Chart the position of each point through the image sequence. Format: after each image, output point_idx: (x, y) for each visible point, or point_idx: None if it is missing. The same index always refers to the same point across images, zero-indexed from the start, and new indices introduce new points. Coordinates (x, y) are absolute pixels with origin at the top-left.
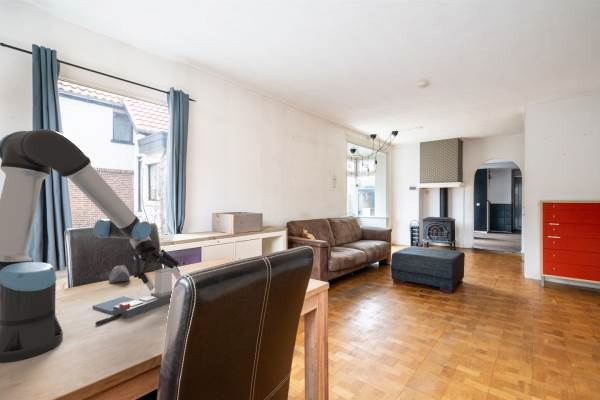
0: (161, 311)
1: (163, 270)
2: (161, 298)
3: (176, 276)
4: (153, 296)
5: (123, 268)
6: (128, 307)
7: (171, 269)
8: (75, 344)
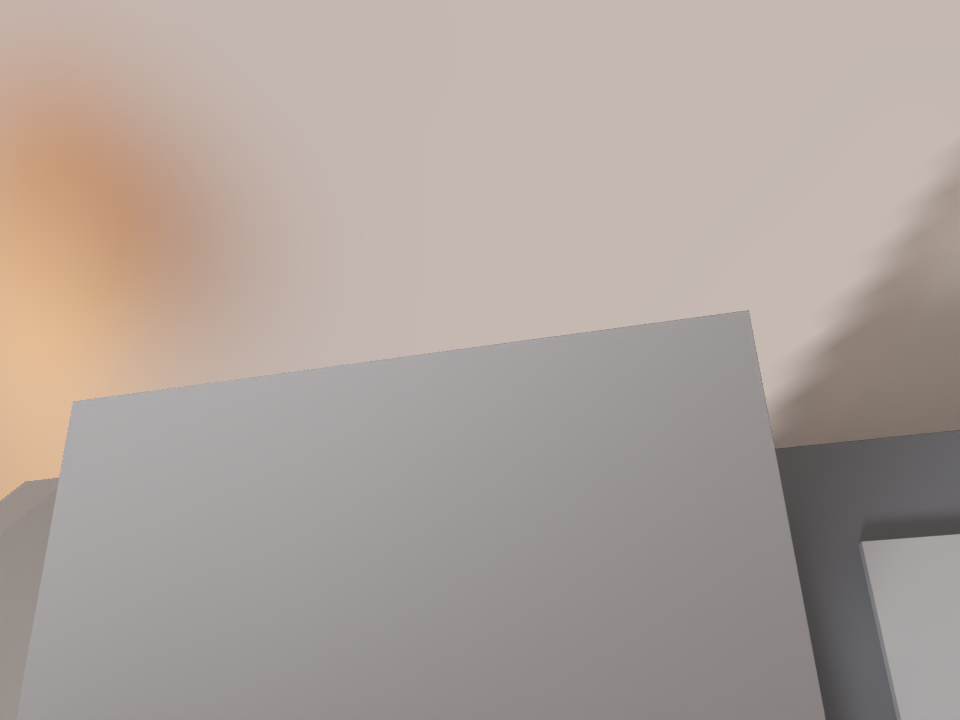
0: (919, 260)
1: (510, 477)
2: (792, 448)
3: (7, 701)
4: (889, 669)
5: None
6: None
7: (116, 401)
8: None
